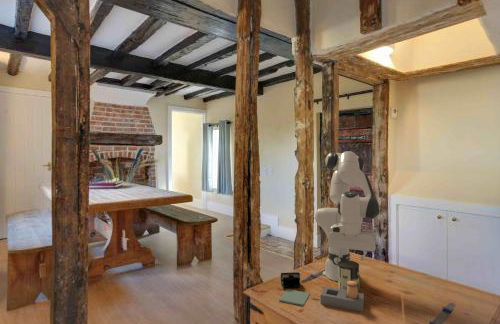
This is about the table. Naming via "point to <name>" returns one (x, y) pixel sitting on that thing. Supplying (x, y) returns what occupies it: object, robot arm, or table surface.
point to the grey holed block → (341, 299)
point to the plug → (352, 290)
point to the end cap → (290, 280)
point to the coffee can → (347, 273)
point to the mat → (294, 297)
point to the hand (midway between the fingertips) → (351, 258)
